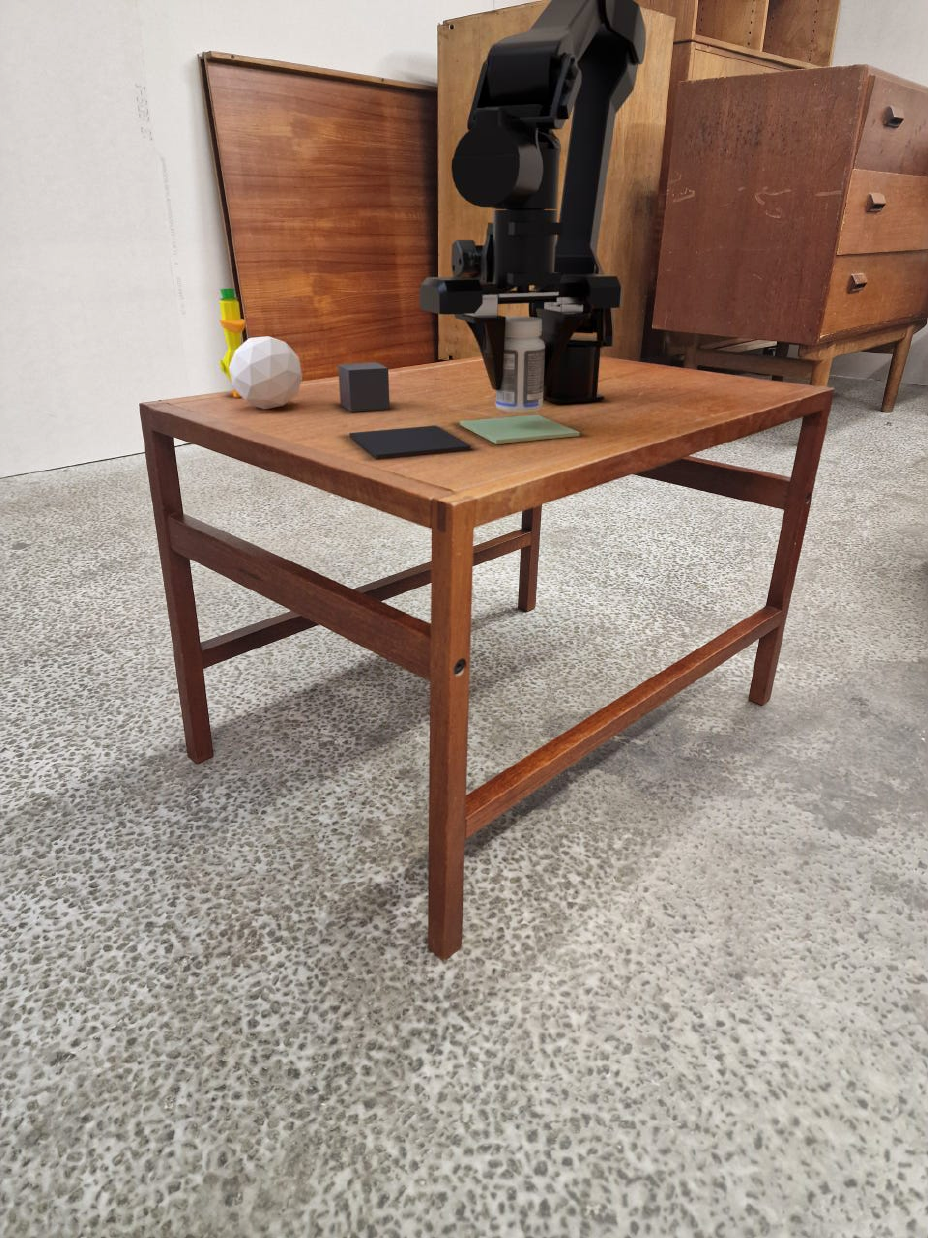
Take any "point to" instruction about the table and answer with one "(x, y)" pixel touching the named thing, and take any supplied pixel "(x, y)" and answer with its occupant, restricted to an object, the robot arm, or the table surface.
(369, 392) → the slate block
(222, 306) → the toy figure
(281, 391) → the geometric ball
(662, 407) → the table surface
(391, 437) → the charcoal mat
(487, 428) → the sage mat
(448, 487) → the table surface
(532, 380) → the pill bottle
